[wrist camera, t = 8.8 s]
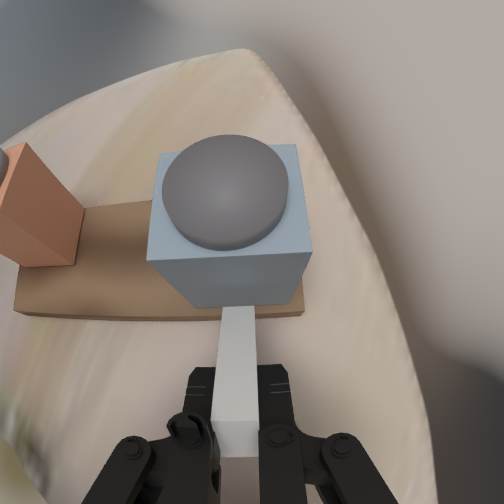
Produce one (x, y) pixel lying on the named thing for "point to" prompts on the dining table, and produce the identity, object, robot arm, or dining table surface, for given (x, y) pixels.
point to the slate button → (230, 222)
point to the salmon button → (36, 212)
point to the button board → (117, 277)
